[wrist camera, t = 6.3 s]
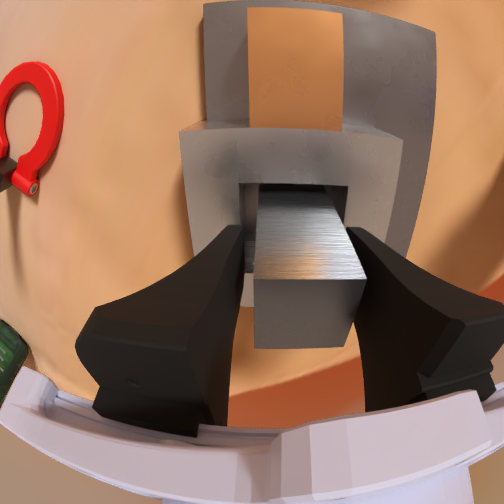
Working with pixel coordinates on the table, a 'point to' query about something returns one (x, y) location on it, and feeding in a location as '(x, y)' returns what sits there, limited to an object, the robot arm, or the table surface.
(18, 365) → the coffee jar
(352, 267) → the pin
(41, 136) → the tow hook
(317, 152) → the bracket fixture
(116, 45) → the table surface
